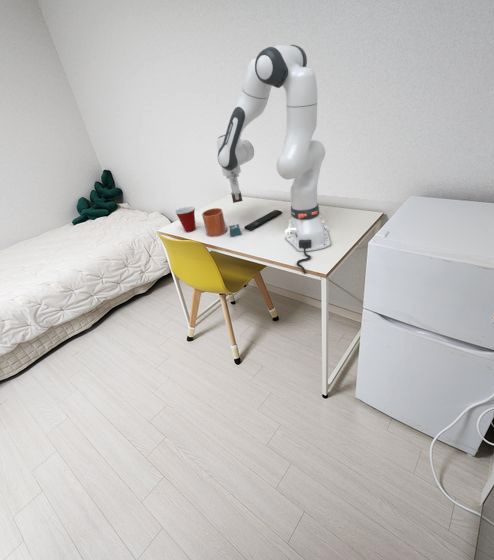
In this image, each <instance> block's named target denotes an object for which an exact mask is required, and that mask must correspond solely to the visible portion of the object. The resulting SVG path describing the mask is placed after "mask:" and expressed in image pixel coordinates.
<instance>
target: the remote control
mask: <svg viewBox="0 0 494 560" xmlns="http://www.w3.org/2000/svg"><path fill="white" fill-rule="evenodd" d="M281 214H283V211H282V210H279V209H274V210H272V211H270V212H268V213H266V214H264V215H263V216H260V217H259V218H258V219H256V220H255V219H254V221H251V222H250V223H248V224H247V225H245V226H243V228H244V229H245V230H247V231H252V230H254V229H256V228H258V227H259V226H261V225H263V224H265V223H267V222H268V221H270V220H272V219H274V218H275V217H277V216H279V215H281Z"/></svg>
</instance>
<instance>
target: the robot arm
mask: <svg viewBox="0 0 494 560" xmlns="http://www.w3.org/2000/svg"><path fill="white" fill-rule="evenodd" d="M307 64H308V58H307V54H306V52H305V50H304V48H302V47H301V46H299V45H296V44H289V45H288V44H278V45H274V46H268V47H265V48H264V49H262V50H261V51H260V52H259V53H258V55H257V56H256V57H254V58H252V60H250V62H249V63H248V66H247V68H246V71H245V74H244V77H243V82H242V86H241V90H240V93H239V97H238V100H237V103H236V106H235V107H234V109H233V111H232V113H231V115H230V118H229V122H228V124H227V128H226V132H225V134H223V135H220V136H219V137H217V139H216V147H217V162H218V164H219V165H220V167H221V172H222V175H223V176H224V177H225V178H226V179H227V180H229V183H230V189H231V193H233V194H234V195H235V199H236V200H238V199H239V195H238V193H240V191H241V190H240V186H239V181H238V177H239V176H240V174H241V172H242V170H241V166H242V165H244V164H247V163H248V162H250V161H251V160H253V158H254V155H255V149H254V146H253V144H252V143H251V142H250V141H249V140H247V139H242V138H241V137H242V134H243V132H244V130H245V128H246V127H248V125H250V123H251V122H253V121H254V120H255V119H257V118H259V117H260V116H261V115H262V114H263V113H264V111H265V109H266V107H267V105H268V101H269V98H270V94H271V89H272V87H274V88H276V89H280V88H281V87H282V88H283V89H284V91H285V96H286V97H285V99H286V102H285V103H286V109H285V110H286V111H285V112H286V130H285V135H284V141H283V146H282V149H281V152H280V154H279V156H278V158H277V160H276V171H277V173H278V175H279V176H280V177H281V178H282V179H284V180H293V182H292V184H291V186H290V190H289V192H290V203H291V206H290V214H291V217H290V219H288V228H287V229H286V230H285V231H284V232H285V233H288V234H287V235H285V239H286V240H287V241H288V242H289V243H290V244H291V245H292V246H293V247H294V248H295V249H296V250H297V251H298V252H303V254H304V256H306V258H301V259H298V260H297V262H296V265H297V266H298V267H300V268H301V269H302V271H303V272H302V273H303V274H304V275H305V274H306V273H307V272H306V268H305V267H304V266H303V265H302V264H300V263H301V262H303V261H308V260H310V259H311V258H312V256H311V255H309V254H308V253H307V252H311V251H318V250H322V249H325V248H327V247H330V246H331V239H330V236H329V233H328V225H327V224H324V223H325V219H324V218H322V213H320V205H319V202H318V184H319V177H320V171H321V167H322V163H323V161H324V159H325V156H326V148H325V146H324V144H323V143H322V142H321V141H320V140H316V139H313V140H312V138H313V135H314V133H315V131H316V129H317V124H318V122H317V121H318V86H317V85H318V84H317V77H316V73H315V71H314V70H313V69H312V68H310V67H307Z"/></svg>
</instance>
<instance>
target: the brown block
mask: <svg viewBox="0 0 494 560" xmlns="http://www.w3.org/2000/svg"><path fill="white" fill-rule="evenodd" d="M238 195H239V199H238V200H236V199H235V195H234V194H233V193H232V192H231V199H232V204H235V203H239V202H243V195H242V192H241V190H240V193H238Z"/></svg>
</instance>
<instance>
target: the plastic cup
mask: <svg viewBox="0 0 494 560" xmlns="http://www.w3.org/2000/svg"><path fill="white" fill-rule="evenodd" d="M195 210H196V207H195V206H184V207H180V208H178V209H176V210H174V213H175V214H176V216H177V218H178V220H179V221H180V223H181V225H182V227H183V230H184V231H185V232H186V233H191V232H194V231H196V230H197V229H196V217H195V213H196V212H195Z"/></svg>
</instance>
